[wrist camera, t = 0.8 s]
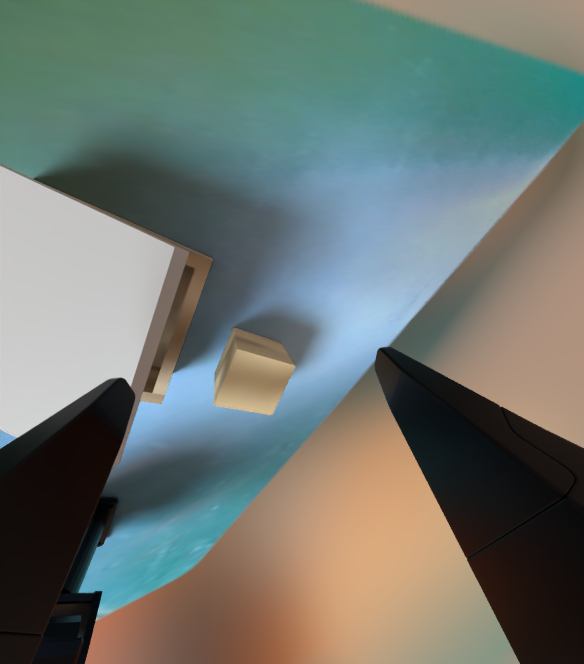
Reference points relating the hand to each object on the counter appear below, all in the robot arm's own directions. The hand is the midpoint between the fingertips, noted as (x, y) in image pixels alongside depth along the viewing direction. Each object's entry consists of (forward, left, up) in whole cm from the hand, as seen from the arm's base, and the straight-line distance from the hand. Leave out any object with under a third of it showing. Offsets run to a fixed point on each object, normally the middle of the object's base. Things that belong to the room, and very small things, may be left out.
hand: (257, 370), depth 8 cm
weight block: (-5, -3, -13) cm, 14 cm away
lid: (-3, +9, -6) cm, 11 cm away
